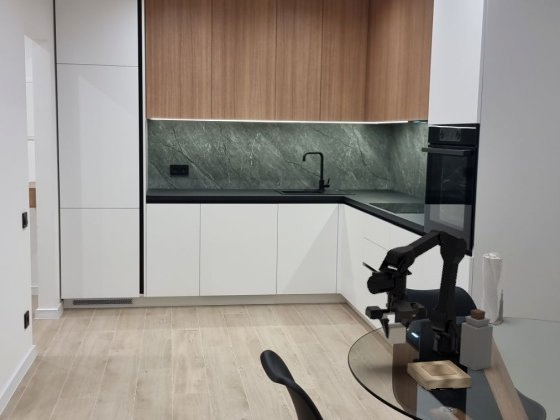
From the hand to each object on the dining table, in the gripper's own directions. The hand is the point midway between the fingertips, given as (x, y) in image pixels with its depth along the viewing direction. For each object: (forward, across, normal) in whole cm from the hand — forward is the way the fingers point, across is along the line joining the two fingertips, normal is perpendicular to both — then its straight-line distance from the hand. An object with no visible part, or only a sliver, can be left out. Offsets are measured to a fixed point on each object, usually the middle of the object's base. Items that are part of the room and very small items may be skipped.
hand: (395, 337), depth 215 cm
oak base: (+9, +9, -13) cm, 18 cm away
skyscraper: (+10, +54, +37) cm, 66 cm away
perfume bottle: (+10, +26, -4) cm, 28 cm away
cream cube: (+1, 0, 0) cm, 1 cm away
